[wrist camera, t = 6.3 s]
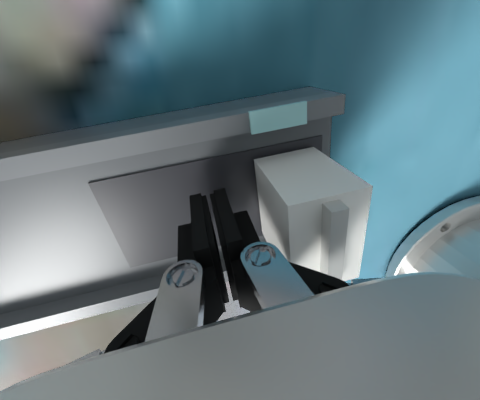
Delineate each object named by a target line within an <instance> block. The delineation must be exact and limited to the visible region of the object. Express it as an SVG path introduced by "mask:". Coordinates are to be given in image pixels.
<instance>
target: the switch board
mask: <svg viewBox="0 0 480 400" xmlns="http://www.w3.org/2000/svg"><path fill="white" fill-rule="evenodd" d="M344 107H345V94H342V93H337V92H332V91H328V90H323V89H319V88H314V87H304V88H299V89H293V90H288V91H282V92H277V93H271V94H266V95H260V96H255V97H249V98H244V99H238V100H233V101H227V102H222V103H216V104H211V105H205V106H200V107H194V108H189V109H183V110H177V111H172V112H166V113H161V114H155V115H150V116H144V117H139V118H133V119H128V120H122V121H117V122H111V123H106V124H100V125H95V126H89V127H84V128H78V129H73V130H67V131H62V132H56V133H51V134H45V135H39V136H34V137H28V138H23V139H17V140H12V141H6V142H1V143H0V340H3V339H7V338H10V337H14V336H18V335H22V334H26V333H30V332H33V331H37V330H41V329H45V328H49V327H53V326H57V325H60V324H64V323H68V322H72V321H76V320H80V319H84V318H87V317H91V316H95V315H99V314H103V313H107V312H111V311H114V310H118V309H122V308H126V307H130V306H134V305H137V304H141V303H145V302H149V301H153V300H154V299H155V298H156V297H157V294H158V291H159V287H160V283H161V280H162V276H163V274H164V272H165V271H166V270H167V269H168V268H169V267H170V266H171V265H173V264H175V263H177V254H178V226H180V225H184V224H189V223H191V214H190V199H189V196H190V195H195V194H199V193H201V195H202V196H204V195H206V197H207V201H208V206H209V210H210V214H211V218H212V223H213V227H214V231H215V235H216V239H217V244H218V249H219V254H220V259H221V264H222V268H223V273H224V278H225V282H226V281H229V280H228V275H227V271H226V267H225V262H224V258H223V254H222V249H221V245H220V240H219V236H218V231H217V227H216V222H215V217H214V213H213V208H212V203H211V199H210V194H213V193H214V191H213V190H218V189H222V188H225V191H226V194H227V197H228V200H229V203H230V206H231V208H232V211H233V213H236V212H241V211H245V210H247V212H248V214H249V216H250V219H251V221H252V223H253V226H254V228H255V230H256V232H257V235H258V237H259V239H260V242H266V239H265V237H264V235H263V233H262V226H261V218H260V209H259V200H258V191H257V183H256V174H255V165H254V159H258V158H263V157H267V156H272V155H277V154H282V153H286V152H291V151H296V150H301V149H306V148H310V147H314V148H316V149H317V150H319V151H320V152H322V153H324V154H325V155H327V156H328V157H330V143H331V123H332V116H336V115H341V114H344Z"/></svg>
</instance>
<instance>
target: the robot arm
mask: <svg viewBox="0 0 480 400" xmlns="http://www.w3.org/2000/svg"><path fill="white" fill-rule="evenodd" d="M213 191H214V193H213V194H210V199H211V203H212V208H213V213H214V217H215V222H216V227H217V231H218V236H219V240H220V245H221V249H222V254H223V258H224V262H225V267H226V271H227V275H228V280H229V284H230V288H231V293H232V297H233V301H234V300H239V304H240V308H241V307H243V308H245V309H247V310H249V311H250V313H247V314H243V315H239V316H236V317H232V318H228V319H225V320H221V321H218V319H219V317H220V316H221V315H222V313H223V312H226V310H225V304H224V303H227V302H229V298H228V293H227V288H226V283H225V278H224V273H223V268H222V264H221V259H220V254H219V249H218V244H217V239H216V235H215V231H214V227H213V223H212V218H211V214H210V210H209V206H208V201H207V197H206V195H204V196H202V195H201V193H199V194H195V195H190V196H189V199H190V214H191V223H189V224H184V225H180V226H178V254H177V263H175V264H173V265H171V266H170V267H169V268H168V269H167V270H166V271H165V272H164V274H163V276H162V280H161V283H160V287H159V291H158V294H157V297H156V298H155V299H154V300H153V301H152V302H151V303H150V304H149V305H147V306H146V307H145V308H144V309H143V310H142V311H141V312H140V313H139V314H138V315H137V316H136V317H135V318H134V319H133V320H132V321H131V322H130V323H129V324H128V325H127V326H126V327H125V328H124V329H123V330H122V331H121V332H120V333H119V334H118V335H117V336H116V337H115V338H114V339H113V340H112V341H111V343H110V344H109V345H108V347H107V348H106V350H104V351H102V352H101V350H100V349H98V350H96V351H94V352H91V353H89V354H87V355H85V356H83V357H81V358H79V359H77V360H75V361H73V362H71V363H69V364H66V365H64V366H62V367H59V368H56V369H53V370H50V371H47V372H44V373H41V374H38V375H36V376H33V377H31V378H28V379H26V380H23V381H21V382H19V383H16V384H14V385H12V386H10V387H8V388H6V389H4V390H2V391H0V400H480V196H476V197H472V198H468V199H464V200H462V201H459V202H457V203H454V204H452V205H449V206H448V207H446V208H444V209H442V210H441V211H439V212H437V213H435V214H434V215H433V216H431V217H430V218H428V219H427V220H426V221H424V222H423V223H422V224H420V225H419V226H418V227H417V228H416V229H415V230H414V231H413V232H412V233H411V234H410V235H409V236H408V237H407V238H406V239H405V240H404V241H403V242H402V244H401V245H400V246H399V248H398V249H397V251H396V252H395V254H394V255H393V257H392V259H391V261H390V263H389V266H388V269H387V272H386V277H385V278H370V279H354V280H351V283H346V282H344V281H343V280H340V279H338V278H336V277H333V276H330V275H327V274H324V273H321V272H318V271H315V270H312V269H309V268H306V267H303V266H300V265H297V264H294V263H291V262H288V261H287V259H286V258H285V257H284V255H283V254H282V253H281V252H280V250H279V249H278V248H277V247H276V246H275V245H273V244H271V243H268V242H260V239H259V237H258V235H257V232H256V230H255V228H254V226H253V223H252V221H251V219H250V216H249V214H248V212H247V210H245V211H241V212H236V213H233V211H232V208H231V206H230V203H229V200H228V197H227V194H226V191H225V188H222V189H218V190H213Z"/></svg>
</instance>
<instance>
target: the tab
mask: <svg viewBox="0 0 480 400" xmlns="http://www.w3.org/2000/svg"><path fill="white" fill-rule="evenodd" d="M254 165H255V174H256V183H257V191H258V200H259V209H260V218H261V226H262V233H263V235H264V237H265V239H266V242H268V243H271V244H273V245H275V246H276V247H277V248H278V249H279V250H280V252H281V253H282V254H283V255H284V257H285V258H286V259H287V261H288V262H291V263H294V264H297V265H300V266H303V267H306V268H309V269H312V270H315V271H318V272H321V273H324V274H327V275H330V276H333V277H336V278H338V279H340V280H343V281H347V280H350V279H354V278H358V277H359V273H360V267H361V260H362V254H363V247H364V241H365V234H366V228H367V221H368V215H369V208H370V201H371V195H372V188H373V186H372V185H370V184H369V183H367V182H366V181H364V180H363V179H361V178H360V177H358V176H357V175H355V174H354V173H352V172H351V171H349V170H348V169H346V168H345V167H343V166H342V165H340V164H339V163H337V162H336V161H334V160H333V159H331V158H330V157H328V156H327V155H325V154H324V153H322V152H320V151H319V150H317V149H316V148H314V147H310V148H306V149H301V150H296V151H291V152H286V153H282V154H277V155H272V156H267V157H263V158H258V159H254Z"/></svg>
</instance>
